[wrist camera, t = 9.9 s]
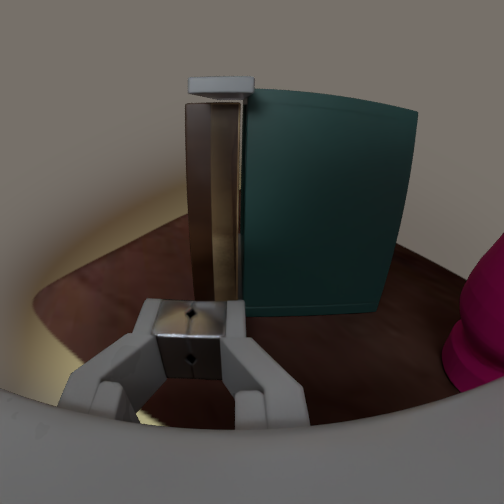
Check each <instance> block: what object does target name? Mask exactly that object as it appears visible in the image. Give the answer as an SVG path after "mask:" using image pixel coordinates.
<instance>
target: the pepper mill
mask: <svg viewBox="0 0 504 504" xmlns="http://www.w3.org/2000/svg"><path fill="white" fill-rule="evenodd" d="M459 305H460V316H461V319H460V320H459V321H458V322H457V323H456V324H455V325H454V327H453V328H452V330H451V332H450V334H449V336H448V338H447V340H446V342H445V344H444V346H443V349H442V362H443V366H444V370H445V373H446V374H447V376H448V378H449V379H450V381H451V382H452V384H453V385H454V386H455V387H456V388H457V389H458V390H459V391H460V392H465V391H468V390H470V389H473V388H476V387H478V386H481V385H484V384H486V383H489V382H491V381H493V380H496V379H498V378H500V377H503V376H504V233H503V234H502V236H501V237H500V238H499V239H498V240H497V241H496V243H495V244H494V245H493V246H492V247H491V248H490V249H489V250H488V251H487V253H486V254H485V255H484V256H483V257H482V258H481V259H480V261H479V262H478V263H477V265H476V266H475V268H474V269H473V271H472V272H471V274H470V275H469V277H468V279H467V281H466V283H465V285H464V287H463V289H462V292H461V295H460V304H459Z"/></svg>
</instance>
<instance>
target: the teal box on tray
mask: <svg viewBox="0 0 504 504" xmlns="http://www.w3.org/2000/svg"><path fill="white" fill-rule="evenodd" d="M254 86H255V78H254V77H251V76H250V77H248V76H208V77H190V78H188V93H189V94H193V95H198V96H202V97H207V98H212V99H217V100H243V122H242V123H243V124H242V165H241V221H240V234H238V300H244V302H245V317H270V316H307V315H330V314H348V313H363V312H376V310H377V307H378V304H379V301H380V298H381V294H382V291H383V288H384V285H385V281H386V278H387V274H388V271H389V267H390V264H391V260H392V256H393V252H394V248H395V245H396V241H397V236H398V232H399V228H400V224H401V219H402V214H403V210H404V205H405V200H406V194H407V189H408V183H409V178H410V172H411V165H412V159H413V152H414V144H415V136H416V127H417V120H418V112H417V111H413V110H409V109H405V108H400V107H396V106H392V105H387V104H382V103H378V102H372V101H367V100H361V99H356V98H349V97H343V96H336V95H328V94H320V93H311V92H301V91H290V90H275V89H254Z"/></svg>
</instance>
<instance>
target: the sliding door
mask: <svg viewBox="0 0 504 504" xmlns="http://www.w3.org/2000/svg"><path fill="white" fill-rule="evenodd" d="M240 110H241V104H240V103H239V102H218V103H217V102H213V103H187V104H185V142H186V143H185V144H186V145H185V146H186V179H187V203H188V221H189V237H190V251H191V263H192V275H193V287H194V297H195V301H232V300H238V216H239V152H240Z"/></svg>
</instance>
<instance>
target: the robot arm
mask: <svg viewBox="0 0 504 504" xmlns="http://www.w3.org/2000/svg"><path fill="white" fill-rule="evenodd" d="M167 378H181V379H205V380H222V381H223V383H224V384H225V386H226V387H227V389H228V390H229V392H230V393H231V395H232V396H233V398H234V399H235V430H209V429H189V428H176V427H165V426H155V425H147V424H141V423H140V421H139V420H138V417H137V415H136V413H137V412H138V411H139V410H140V408H141V407H142V406H143V405H144V404H145V403H146V402H147V401H148V400H149V399H150V397H151V396H152V395H153V394H154V393H155V392H156V391H157V390H158V389H159V388H160V386H161V385H162V384H163V383H164V382H165V381H166V380H167ZM0 504H504V376H503V377H500V378H498V379H496V380H493V381H491V382H489V383H486V384H484V385H481V386H478V387H476V388H473V389H470V390H468V391H465V392H462V393H459V394H456V395H453V396H450V397H447V398H444V399H441V400H438V401H434V402H431V403H428V404H424V405H420V406H417V407H413V408H409V409H405V410H401V411H397V412H392V413H388V414H383V415H379V416H374V417H368V418H363V419H357V420H351V421H345V422H338V423H331V424H323V425H315V426H310V421H309V416H308V410H307V405H306V400H305V395H304V391H303V387H302V386H301V385H300V384H299V383H298V382H297V381H296V380H295V379H294V378H292V377H291V376H290V375H289V374H288V373H287V372H286V371H285V370H284V369H283V368H282V367H281V366H280V365H279V364H278V363H277V362H276V361H275V360H274V359H273V358H272V357H271V356H270V355H269V354H268V353H267V352H266V351H264V350H263V349H262V348H261V347H260V346H259V345H258V344H257V343H256V342H255V341H254V340H253V339H252V338H246V319H245V302H244V300H232V301H193V300H172V299H150V298H147V299H146V300H145V301H144V304H143V306H142V309H141V312H140V314H139V317H138V319H137V322H136V325H135V327H134V330H133V333H127V334H126V335H124V336H123V337H122V338H120V339H119V340H117V341H116V342H115V343H113V344H112V345H110V346H109V347H107V348H106V349H105V350H103V351H102V352H100V353H99V354H98V355H96V356H95V357H93V358H92V359H91V360H89V361H88V362H86V363H85V364H84V365H82V366H81V367H79V368H78V369H77V370H75V371H74V372H72V373H71V375H70V377H69V379H68V381H67V384H66V386H65V388H64V391H63V393H62V395H61V398H60V401H59V403H58V405H57V407H56V406H53V405H49V404H45V403H42V402H39V401H36V400H32V399H29V398H26V397H23V396H20V395H18V394H15V393H12V392H9V391H7V390H4V389H1V388H0Z"/></svg>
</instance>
